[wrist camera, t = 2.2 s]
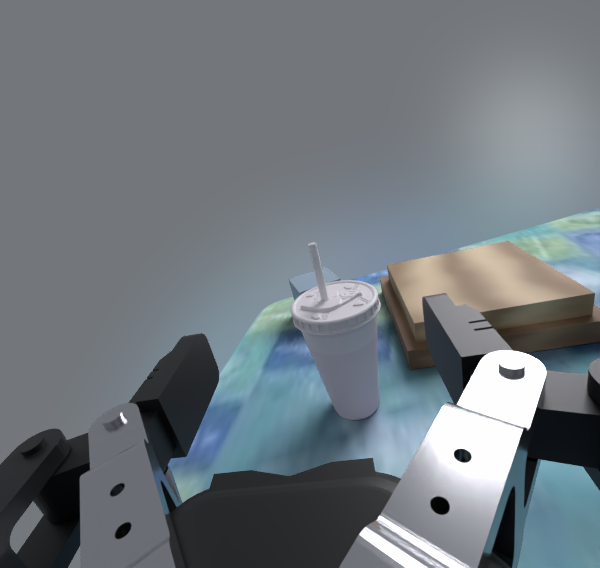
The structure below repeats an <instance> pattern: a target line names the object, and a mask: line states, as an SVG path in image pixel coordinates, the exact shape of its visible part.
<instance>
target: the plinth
mask: <svg viewBox="0 0 600 568" xmlns="http://www.w3.org/2000/svg"><path fill="white" fill-rule="evenodd" d="M387 269H388V275H389V276H387V277H382V278H380V282H381V288H382V293H383V296H384V298H385V301H386V304H387V307H388V309H389V312H390V315H391V318H392V321H393V323H394V326H395V329H396V332H397V334H398V337H399V340H400V343H401V346H402V348H403V351H404V354H405V357H406V359H407V362H408V365H409V368H410V370H413V369H419V368H426V367H433V366H436V365H435V363H434V361H433V359H432V357H431V355H430V352H429V349H428V346H427V342H426V336H425V326H424V316H423V306H422V298H423V297H424V296H430V295H436V294H442V293H446V294H447V295H448V296H449V298H450V299H451V300H452V302H453V303H454V304H455V306H458V305H464V304H466V305H468V306H470V307H472V308H474V309H476V310H478V311H479V312H480V313H481V314H482V316H483V317H484V318H485V319H486V321H488V322H489V324H490V325H491V326H492V328H494V329H495V330H496V332H497V333H498V334H499V335H500V336H501V337H502V338H503V339H504V341H505V342H506V343H507V344H508V345H509V346H510V347H511V349H512V350H513V351H516V352H521V353H528V352H534V351H541V350H548V349H555V348H561V347H568V346H575V345H582V344H588V343H595V342H600V308H598V307H597V306H595V305H594V296H595V293H594V292H592V291H591V290H589V289H587V288H586V287H584V286H582V285H581V284H579V283H577V282H576V281H574V280H572V279H571V278H569V277H567V276H566V275H564V274H562V273H561V272H559V271H557V270H556V269H554V268H552V267H551V266H549V265H547V264H546V263H544V262H542V261H541V260H539V259H537V258H536V257H534V256H532V255H531V254H529V253H527V252H526V251H524V250H522V249H521V248H519V247H517V246H516V245H514V244H512V243H511V242H509V241H506V242H501V243H496V244H491V245H486V246H481V247H476V248H471V249H465V250H460V251H455V252H450V253H445V254H440V255H435V256H430V257H425V258H420V259H414V260H410V261H404V262H399V263H395V264H389V265H387Z"/></svg>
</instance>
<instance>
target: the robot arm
mask: <svg viewBox="0 0 600 568" xmlns="http://www.w3.org/2000/svg"><path fill="white" fill-rule="evenodd" d="M422 306H423V316H424V326H425V336H426V342H427V346H428V349H429V352H430V355H431V357H432V359H433V361H434V363H435V365H436V367H437V369H438V371H439V373H440V375H441V377H442V380H443V382H444V384H445V386H446V388H447V390H448V392H449V394H450V396H451V398H452V400H453V402H454V403H450V402H447V403H446V404H445V405H444V406H443V407H442V409H441V410H440V412H439V414H438V416H437V417H436V419H435V421H434V423H433V424H432V426H431V428H430V430H429V431H428V433H427V435H426V436H425V438H424V440H423V442H422V443H421V445H420V447H419V449H418V450H417V452H416V454H415V456H414V457H413V459H412V461H411V462H410V464H409V466H408V468H407V469H406V471H405V473H404V475H403V476H402V478H401V479H400V478H398V477H395V476H392V475H388V474H385V473H379V472H375V467H374V462H373V458H367V459H357V460H348V461H338V462H331V463H328V464H325V465H322V466H319V467H316V468H313V469H310V470H307V471H304V472H301V473H298V474H295V475H292V476H283V475H277V474H271V473H265V472H258V471H252V470H250V471H240V472H230V473H220V474H214V476H213V479H212V482H211V485H210V488H209V489H208V490H205V491H203V492H201V493H198V494H196V495H195V496H193V497H191V498H189V499H188V500H186V501H185V502H183V503H182V500H181V498H180V495H179V492H178V489H177V486H176V483H175V480H174V477H173V475H172V472H171V470H170V468H169V466H168V463H169V461H170V459H171V458H179V457H186V456H187V454H188V452H189V449H190V447H191V445H192V442H193V440H194V438H195V436H196V433H197V431H198V429H199V426H200V424H201V422H202V419H203V417H204V415H205V412H206V410H207V408H208V406H209V403H210V401H211V399H212V396H213V394H214V392H215V389H216V387H217V385H218V382H219V370H218V366H217V364H216V361H215V359H214V356H213V353H212V351H211V348H210V345H209V343H208V340H207V338H206V336H205V335H204V334H202V333H201V334H195V335H189V336H184V337H182V338H181V339H180V340H179V342H178V343H177V345H176V346H175V347H174V349H173V350H172V351H171V352H170V353H169V354H167V355H166V356H165V357H163V358H162V359H161V360H160V361H159V362H158V364H157V365H156V366H155V368H154V369H153V372H151V373H150V374H149V376H148V377H147V380H145V381H144V383H143V384H142V385H141V387H140V388H139V389H138V391H137V392H136V393H135V395H134V396H133V398H132V399H131V400H130V402H129V403H126V404H121V405H118V406H116V407H114V408H112V409H110V410H108V411H106V412H105V413H103V414H102V415H101V416H100V417H99V418H97V419H96V421H94V423H93V424H92V425H91V427H90V429H89V432H88V433H86V434H83V435H81V436H78V437H75V438H72V439H70V440H66V438H65V436H64V435H63V433H62V432H61V431H60V430H59V429H49V430H46V431H43V432H40V433H38V434H36V435H35V436H32V437H31V438H29V439H28V440H26V441H25V442H23V443H22V444H21V445H19V446H18V447H17V448H16V449H15V450H14V451H13V452H12V453H11V454H10V455H9V456H8V457H7V458H6V459H5V460H4V461H3V462H2V463H1V465H0V568H68V566H69V564H70V563H71V560H72V559H73V557H74V555H75V554H76V551H77V550H78V548H79V546H81V568H517V566H518V562H519V557H520V552H521V546H522V540H523V532H524V526H525V521H526V517H527V513H528V509H529V505H530V501H531V497H532V493H533V489H534V485H535V481H536V477H537V474H538V470H539V466H540V462H541V460H547V461H553V462H559V463H565V464H571V465H577V466H583V467H584V469H585V470H586V472H587V473H588V474H589V476H590V477H591V479H592V480H593V482H594V483H595V484H596V486H597V487H598V489H599V490H600V358H598V359H596V360H594V361H593V362H591V364H590V365H589V371H588V374H582V373H567V372H555V371H549V370H546V369H545V367H544V365H543V364H542V363H541V362H540V361H539V360H537V359H536V358H534V357H532V356H530V355H528V354H525V353H521V352H516V351H513V350H512V349H511V347H510V346H509V345H508V344H507V343H506V342H505V341H504V339H503V338H502V337H501V336H500V335H499V334H498V333H497V332H496V330H495V329H494V328H492V326H491V325H490V324H489V322H488V321H486V319H485V318H484V317H483V316H482V314H481V313H480V312H479V311H478V310H476V309H474V308H472V307H470V306H468V305H466V304H464V305H458V306H455V304H454V303H453V302H452V300H451V299H450V298H449V296H448V295H447V294H446V293H442V294H436V295H430V296H424V297H423V298H422ZM32 501H34V503H35V504H36V505H37V507H38V508H39V509H40V510H41V512H42V513H43V514H44V516H43V517H42V518H41V520H40V522H39V523H38V524H37V526H36V527H35V529H34V530H33V531H32V533H31V534H30V536H29V537H28V539H27V540H26V542H25V543H24V545H23V546H22V547H21V549H20V550H19V552H18V553H17V555H16V553H15V552H14V551H13V550H12V549H11V547H10V535H11V532H12V529H13V527H14V526H15V524H16V523H17V521H18V520H19V519H20V517H21V516H22V515H23V513H24V512H25V511H26V509H27V508H28V507H29V505H30V504H31V503H32Z"/></svg>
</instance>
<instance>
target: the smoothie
mask: <svg viewBox="0 0 600 568" xmlns="http://www.w3.org/2000/svg"><path fill="white" fill-rule="evenodd" d="M308 247H309V251H310V255H311V259H312V263H313V267H314V272H315V276H316V280H317V284H318V286H316V287H314V288H312V289H310V290H308V291H306V292H304V293H303V294H301V295H300V296H299V297H298V298H296V300H295V301H294V302H293V304H292V306H291V314H292V318H293V323H294V325H295V327H296V328H297V329H299V330H300V331H301V332H302V334H303V337H304V339H305V341H306V344H307V346H308V348H309V350H310V353H311V355H312V357H313V360H314V362H315V364H316V367H317V369H318V371H319V374H320V376H321V378H322V380H323V383H324V385H325V387H326V390H327V392H328V394H329V397H330V399H331V401H332V404H333V406H334V408H335V410H336V412H337V413H338V414H339V415H340V416H341V417H343V418H345V419H349V420H360V419H364V418H367V417H369V416H370V415H372V414H373V413H374V412H375V411H376V410H377V408H378V406H379V379H378V348H377V317H376V315H377V314H378V312H379V311H380V306H381V303H380V301H379V298H378V292H377V290H376V289H375V288H374V287H373V286H372V285H370V284H368V283H365V282H361V281H353V280H345V281H335V282H330V283H326V284H325V279H324V275H323V271H322V267H321V262H320V258H319V253H318V249H317V245H316V243H315V242H313V243H310V244H308Z"/></svg>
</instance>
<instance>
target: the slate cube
mask: <svg viewBox="0 0 600 568" xmlns="http://www.w3.org/2000/svg"><path fill="white" fill-rule="evenodd" d="M322 271H323V275H324V279H325V284H326V283H330V282H335V281H340V278H339V277H337V276H336V275H335V274H334V273H332V272H331V271H330V270H328V269H327V268H326V267H323V268H322ZM289 282H290V286H291V289H292V293H293V297H294V300H296V298H298V297H299V296H300V295H301V294H303V293H304V292H306V291H308V290H310V289H312V288H314V287H316V286H318V284H317V280H316V276H315V272H314V271H312V272H309V273H306V274H303V275H300V276H297V277H294V278H291V279H289Z"/></svg>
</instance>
